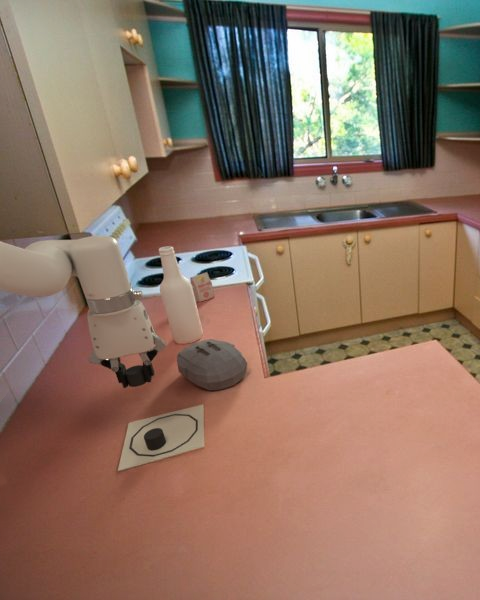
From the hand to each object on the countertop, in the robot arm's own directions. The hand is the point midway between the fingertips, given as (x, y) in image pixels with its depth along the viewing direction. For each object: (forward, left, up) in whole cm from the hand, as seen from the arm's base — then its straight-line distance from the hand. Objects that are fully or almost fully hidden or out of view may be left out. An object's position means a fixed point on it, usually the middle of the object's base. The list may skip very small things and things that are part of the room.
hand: (138, 380), depth 88 cm
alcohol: (+6, +47, -15) cm, 50 cm away
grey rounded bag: (+13, +20, -15) cm, 28 cm away
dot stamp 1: (0, 0, 0) cm, 0 cm away
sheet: (+2, -1, -14) cm, 15 cm away
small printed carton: (+11, +80, -15) cm, 82 cm away
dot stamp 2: (0, -4, -14) cm, 15 cm away
